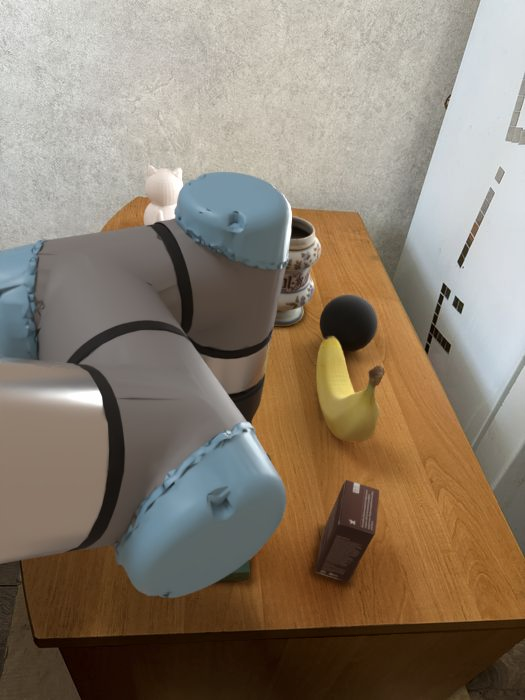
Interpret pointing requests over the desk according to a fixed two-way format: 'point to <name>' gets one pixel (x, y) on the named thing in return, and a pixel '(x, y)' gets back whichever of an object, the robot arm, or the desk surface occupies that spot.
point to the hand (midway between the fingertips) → (205, 514)
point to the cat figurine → (162, 193)
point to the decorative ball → (349, 322)
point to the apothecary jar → (298, 273)
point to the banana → (345, 395)
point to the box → (348, 530)
